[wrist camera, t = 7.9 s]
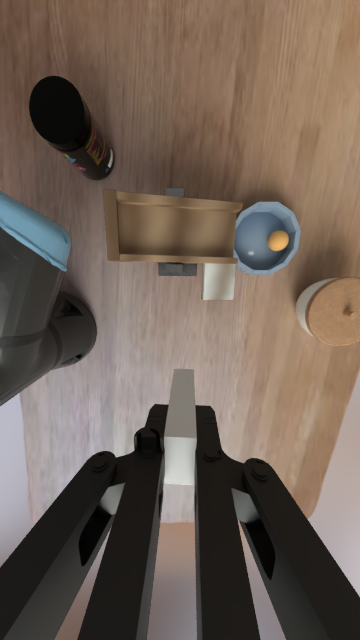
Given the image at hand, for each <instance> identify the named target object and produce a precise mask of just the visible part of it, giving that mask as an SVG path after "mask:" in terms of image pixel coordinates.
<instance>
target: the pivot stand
mask: <svg viewBox="0 0 360 640" xmlns="http://www.w3.org/2000/svg"><path fill="white" fill-rule="evenodd" d="M165 196H173V197H184V188H165ZM196 269H197V263H160V262H159V276H196Z"/></svg>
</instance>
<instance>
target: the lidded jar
mask: <svg viewBox="0 0 360 640" xmlns="http://www.w3.org/2000/svg"><path fill="white" fill-rule="evenodd" d="M295 312H296V317H297V320H298V322H299V324H300V325H301V326H302V328H303V329H304V330H305V331H307V332H308V333H309V334H310V335H312V336H314V337H315V338H316V339H318V340H320V341H321V342H323V343H326V344H328V345H333V346H345V345H350V344H353V343H355V342H358V341H360V278H357V277H342V278H329V279H325V280H321V281H318V282H316V283H314V284H312V285H310V286H309V287H307V288H306V289H305V290H304V291H303V292H302V293H301V295H300V296H299V298H298V300H297V303H296V307H295Z"/></svg>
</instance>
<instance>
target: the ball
mask: <svg viewBox="0 0 360 640" xmlns="http://www.w3.org/2000/svg"><path fill="white" fill-rule="evenodd" d="M288 242H289V237H288V234H287V233H286V232H284V231H275V232H273V233H272V234H271V235H270V236H269V238H268V247H269V248H270V249H271V250H273V251H280V250H282V249H284V248H285V247H286V246H287V244H288Z"/></svg>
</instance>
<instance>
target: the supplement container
mask: <svg viewBox="0 0 360 640" xmlns="http://www.w3.org/2000/svg"><path fill="white" fill-rule="evenodd" d="M29 111H30V117H31V120H32V123H33V125H34V127H35V129H36V130H37V132H38V133H39V134H40V135H41V136H42V137H43V138H44V139H45V140H46V141H47V142H48V143H49V144H50V145H51V146H52V147H54V148H55V149H56V150H57V151H58V152H59V153H61V154H62V155H63V156H64V157H65V158H66V159H67V160H68V161H69V162H70V163H71V164H72V165H73V166H75V167H76V168H77V169H78V170H79V171H80V172H81V173H82V174H83V175H84V176H86V177H87V178H89V179H92V180H101V179H104V178H106V177H107V176H108V175H109V174H110V173H111V171H112V169H113V166H114V152H113V149H112V146H111V145H110V143H109V141H108V140H107V138H106V136H105V135H104V133H103V132H102V130H101V128H100V127H99V125H98V123H97V122H96V120H95V119H94V117H93V115H92V114H91V112H90V110H89V109H88V107H87V105H86V103H85V101H84V100H83V99H82V97H81V95H80V94H79V92H78V91H77V89H76V88H75V87H74V85H73V84H72V83H70V82H69V81H68V80H66V79H64V78H62V77H58V76H49V77H46V78H44V79H42V80H40V81H39V82H38V83H37V84H36V86H35V87H34V89H33V91H32V93H31V96H30V102H29Z"/></svg>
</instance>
